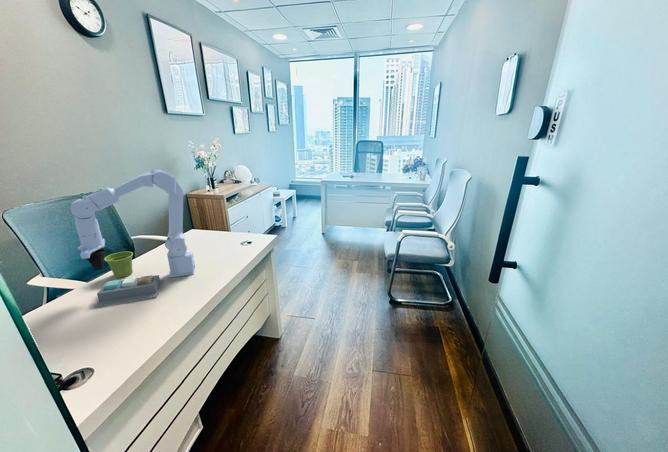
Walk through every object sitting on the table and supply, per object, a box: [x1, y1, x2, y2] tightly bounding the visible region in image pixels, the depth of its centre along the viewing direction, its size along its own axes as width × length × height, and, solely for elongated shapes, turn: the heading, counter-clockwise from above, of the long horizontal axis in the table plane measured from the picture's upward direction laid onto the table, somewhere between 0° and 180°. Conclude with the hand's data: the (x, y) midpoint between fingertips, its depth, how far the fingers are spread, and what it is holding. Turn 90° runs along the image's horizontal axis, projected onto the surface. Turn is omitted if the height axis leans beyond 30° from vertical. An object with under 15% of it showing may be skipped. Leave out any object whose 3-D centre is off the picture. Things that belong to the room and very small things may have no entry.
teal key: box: [105, 279, 121, 290], centre depth 96 cm, size 4×4×4 cm
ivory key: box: [122, 277, 138, 287], centre depth 97 cm, size 4×4×4 cm
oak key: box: [138, 275, 153, 285], centre depth 99 cm, size 4×4×4 cm
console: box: [94, 274, 164, 309], centre depth 98 cm, size 18×13×4 cm
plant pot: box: [104, 251, 134, 279], centre depth 110 cm, size 9×9×9 cm
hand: (99, 268), depth 95 cm, fingers closed
